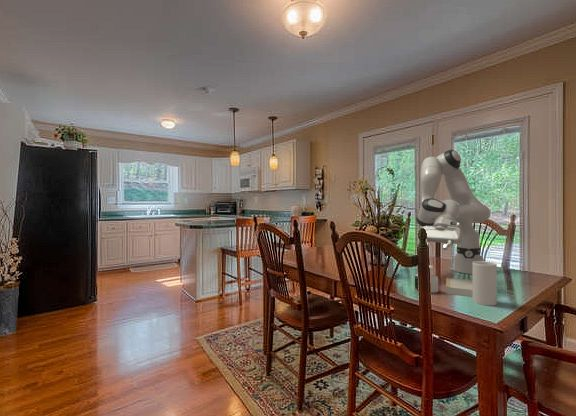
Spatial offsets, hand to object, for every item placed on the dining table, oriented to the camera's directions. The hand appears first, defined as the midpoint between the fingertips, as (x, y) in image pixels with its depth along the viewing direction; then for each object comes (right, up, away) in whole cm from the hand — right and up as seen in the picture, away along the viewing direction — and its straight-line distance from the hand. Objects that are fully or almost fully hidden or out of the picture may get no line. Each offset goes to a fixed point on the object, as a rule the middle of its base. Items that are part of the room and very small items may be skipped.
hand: (434, 247), depth 147 cm
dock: (+9, -19, -7) cm, 22 cm away
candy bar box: (-16, -19, +21) cm, 32 cm away
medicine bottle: (-8, -19, -7) cm, 22 cm away
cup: (+8, -19, -24) cm, 32 cm away
